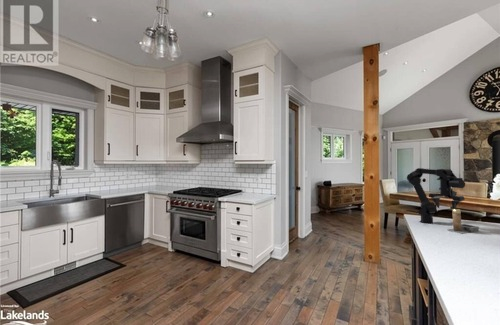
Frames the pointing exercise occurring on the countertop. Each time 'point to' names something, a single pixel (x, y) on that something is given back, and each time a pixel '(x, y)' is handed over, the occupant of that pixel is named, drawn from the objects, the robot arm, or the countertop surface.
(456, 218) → the hook peg
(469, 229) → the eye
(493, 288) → the countertop surface
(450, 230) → the pad
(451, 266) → the countertop surface
